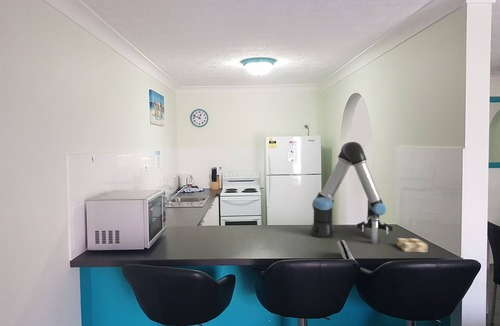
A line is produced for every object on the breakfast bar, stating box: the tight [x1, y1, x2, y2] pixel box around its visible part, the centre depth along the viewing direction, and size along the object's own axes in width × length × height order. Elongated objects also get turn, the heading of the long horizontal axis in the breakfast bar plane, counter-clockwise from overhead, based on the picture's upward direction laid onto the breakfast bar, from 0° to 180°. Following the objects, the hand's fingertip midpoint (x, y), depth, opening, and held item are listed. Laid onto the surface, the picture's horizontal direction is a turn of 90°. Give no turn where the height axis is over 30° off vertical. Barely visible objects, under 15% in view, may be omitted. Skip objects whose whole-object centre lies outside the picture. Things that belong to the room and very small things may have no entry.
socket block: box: [396, 237, 429, 253], centre depth 182 cm, size 12×12×4 cm
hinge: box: [336, 239, 355, 260], centre depth 164 cm, size 17×5×10 cm, turn 173°
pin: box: [370, 217, 380, 245], centre depth 191 cm, size 5×5×15 cm
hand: (375, 230), depth 188 cm, fingers open, 13 cm apart
